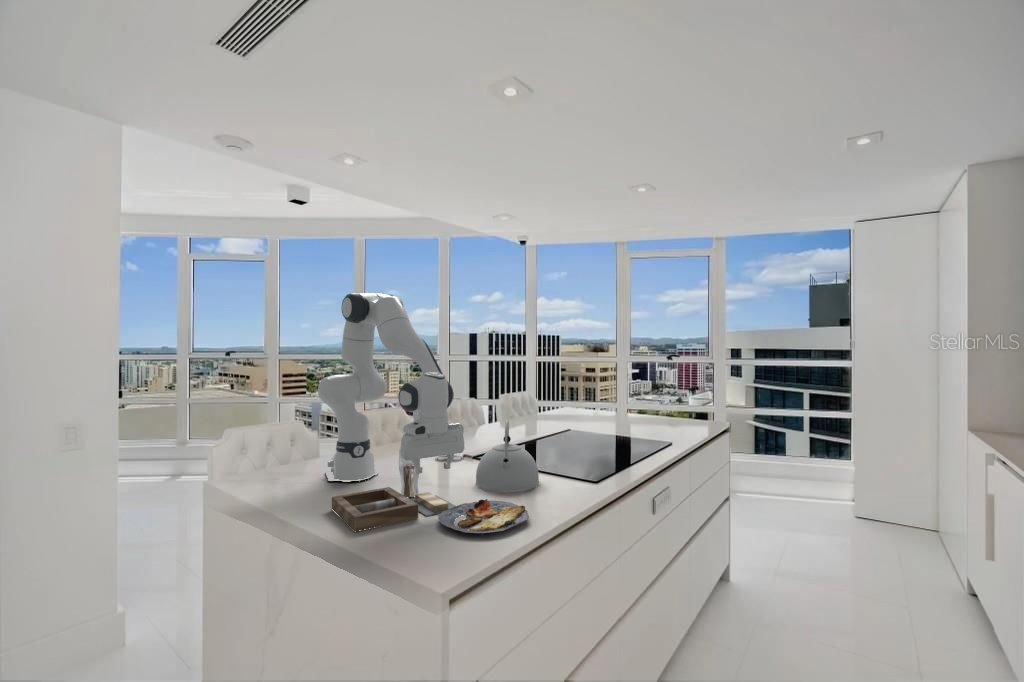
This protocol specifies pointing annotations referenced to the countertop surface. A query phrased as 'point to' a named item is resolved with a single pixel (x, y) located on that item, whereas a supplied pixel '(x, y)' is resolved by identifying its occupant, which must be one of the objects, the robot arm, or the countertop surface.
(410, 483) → the drinking glass
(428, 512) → the rubber mat
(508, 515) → the food plate
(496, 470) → the kettle
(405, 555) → the countertop surface
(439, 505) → the maple bar
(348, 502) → the pocket board
